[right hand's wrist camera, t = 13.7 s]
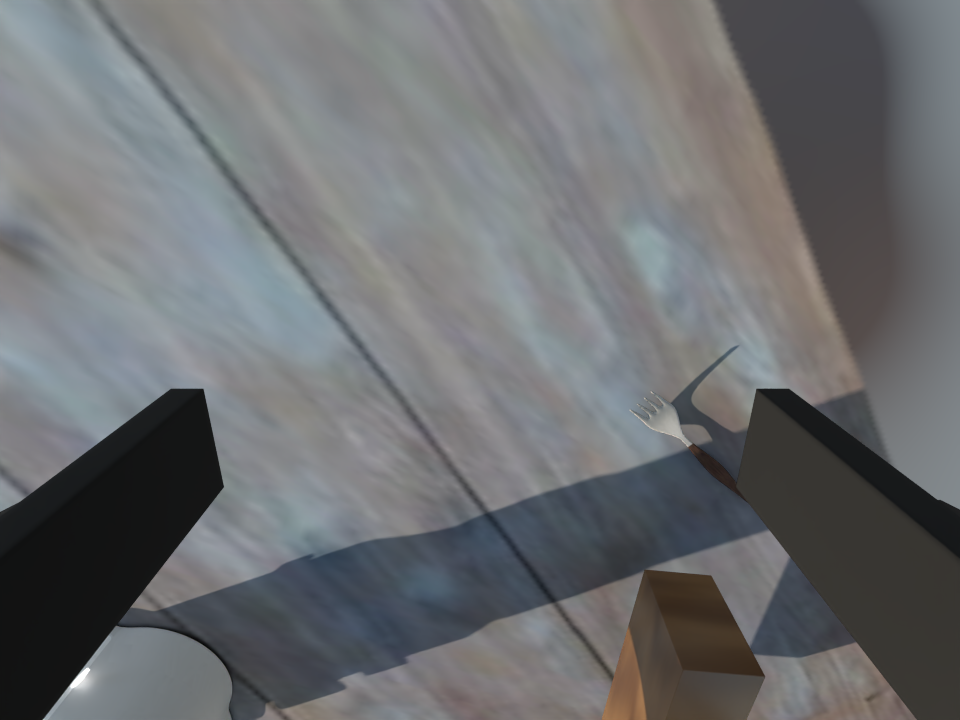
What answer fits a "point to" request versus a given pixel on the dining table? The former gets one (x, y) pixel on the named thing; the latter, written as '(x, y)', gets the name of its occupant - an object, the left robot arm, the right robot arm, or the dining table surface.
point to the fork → (683, 438)
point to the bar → (683, 655)
